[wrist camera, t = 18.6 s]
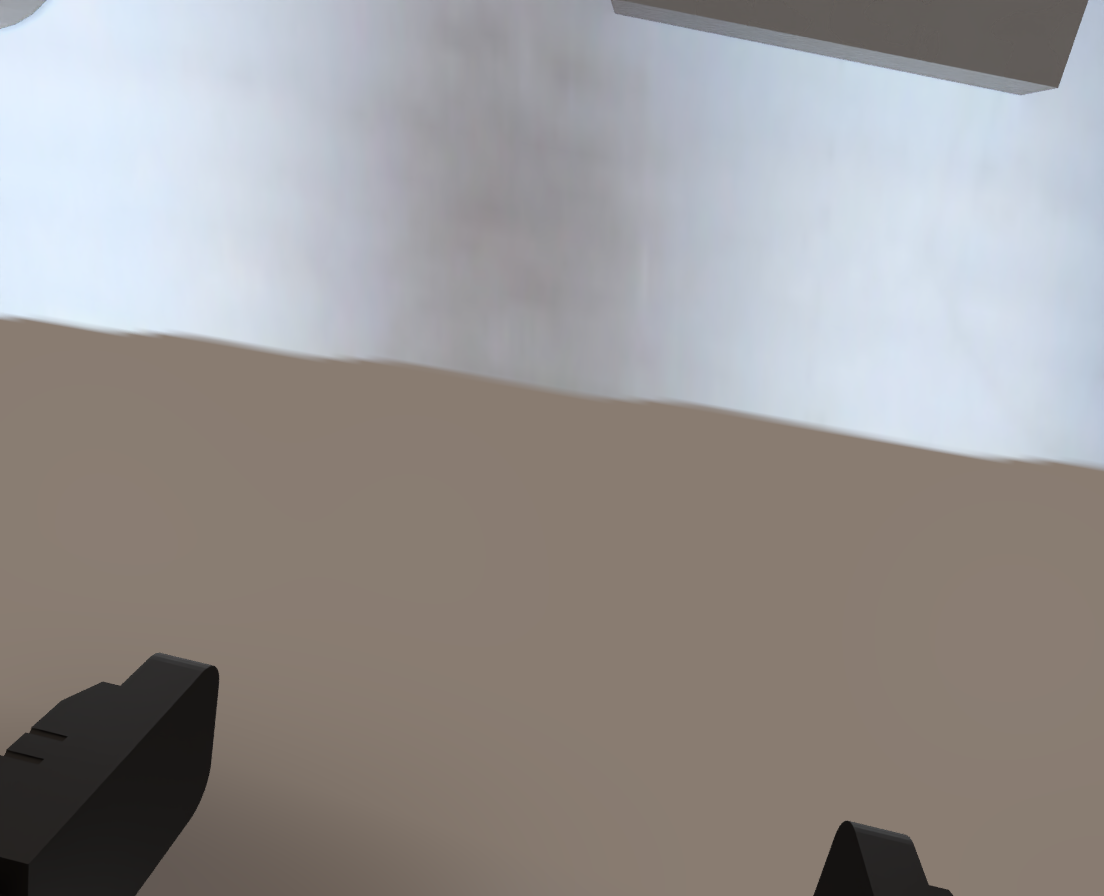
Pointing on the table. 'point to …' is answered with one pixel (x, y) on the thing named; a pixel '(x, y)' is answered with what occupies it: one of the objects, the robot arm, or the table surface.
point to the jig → (900, 33)
